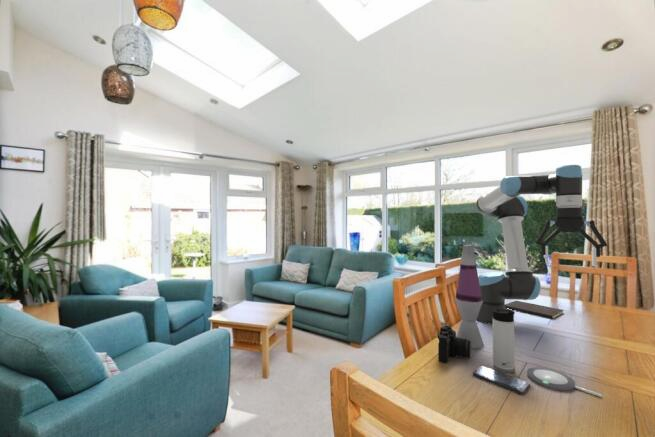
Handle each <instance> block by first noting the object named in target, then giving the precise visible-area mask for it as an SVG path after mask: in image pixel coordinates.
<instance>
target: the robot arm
mask: <svg viewBox="0 0 655 437" xmlns="http://www.w3.org/2000/svg"><path fill="white" fill-rule="evenodd" d="M582 172H583V170H582V166H581V165H579V164H568V165H560V166H558V167H556V168H555V173H554V174H545V175H544V174H540V175H509V176H504V177H503V178H501V181H500V185H499V186H498V187H496V188H495V189H493V190H492V191H491V192H489V193H485V194H483V195H481V196H480V197H478V198H477V200H476V202H475V206H476V207H475V208H476V210H477V212H478V213H479V214H481V215H482V216H483V217H489V218H497V221H498V222H499V223H500V224H501V226H502V228H501V229H502V234H503V235H502V236H503V241H504V242H503V244H504V249H505V256H506V264H507V270H506V271H505V273H504V272H501V271H487V272H482V273H480V274H479V275H478V279H479V284H480V290H481V296H482V301H483V303H482V305H481V308H480V311H479V314H478V316H477V319H478V320H480V321H479V322H481V321H483V322H482V323H484V322H486V323H485V324H488V323H490V324H489V325H493V310H497V309H506V308H505V304H506V301H505V300H513V301H532V300H535V299H537V298H538V297H539V295H540V294H541V288H542V287H541V286H542V285H541V280H540V279H539V277H538V276H536V275H534V274H533V270H531V269H530V267H529V266H528V258H527V251H526V246H525V245H526V244H525V240H524V235H523V234H524V233H523V226H522V221H523V220H524V218H525V216H526V215H527V213H528V203H527V201H526V199H525V198H524V197H523V196H521V195H553V194H555V206H556V207H557V208H556V210H555V215H556V216H555V218H556V219H555V221H554V220H553V221H552V220H549V219H548V220H545V226H544V228H543V229H542V230H541V232H540V234H539V236H538V237H537V239H536V241H535V244H536V245H539V246H541V254H542V255H544V257H545V260H544V261H545V262H544V263H545V264H546V265H547V264H549V245H548V244H549V243H550V242H551V241H552V240H553V239H554V238H555V237H557V235H559V234H560V233H577V232H578V233H579V234H581V236H583V238H585V240H586V241H588V242H589V243H590V244H591V245H592V246H593V247H591V266H592V267H597V258H600V257H601V248H604V247H607V246H608V243H607V242H606V240H605V239H604V237H603V236H602V235H601V233H600V231H599V230H598V228H597V227H596V223H595V220H594V219H593V220H592V219H589V220H583V208H582V206H583V173H582ZM554 225H555V226H556V227H557V228H556V229H555V230H554V231H553V232H552V233H551V234H550V235H549V236H548V237H547V238H546V239H545V240H543V239H544V237H545V236H546V234H547V232H548V231H549V229H550V227H552V226H554ZM584 225H586V226H587V227H589V229H590V230H591V232H592V233H593V234H594V236H595V237H596V239H597V241H598V242H599V243H598V242H597V241H596V240H594V238H592V236H590V235H589V234H588V233H587V232H586V231H585V230H584V229H582V228H583V226H584ZM542 240H543V241H542ZM506 310H507V309H506ZM477 319H476V320H477ZM478 320H477V321H478Z"/></svg>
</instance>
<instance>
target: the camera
mask: <svg viewBox="0 0 655 437" xmlns="http://www.w3.org/2000/svg"><path fill="white" fill-rule="evenodd" d="M456 336H457V332H456V331H455V330H454V329H453V328H452V326H451V325H450V324H445V325H444V326H441V327H440V331H439V333H437V339H438V346H437V347H438V362H439V363H443V364H448V362H449V359H450V358H455V357H459V358H464V359H470V358H471V353H472V352H471V350H472V348H471V342H470V340H467V339H461V338H459V337H458V338H456Z"/></svg>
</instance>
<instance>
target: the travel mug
mask: <svg viewBox="0 0 655 437" xmlns="http://www.w3.org/2000/svg"><path fill="white" fill-rule="evenodd" d="M515 312H516V311H514V310H509V309H497V310H493V324H492V367H493V369H494V370H496V371H498V372H501V373H504V374H511V373H515V370H516V369H515V368H516V367H515V366H516V364H515V363H516V362H515V361H516V360H515V357H516V356H515Z"/></svg>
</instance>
